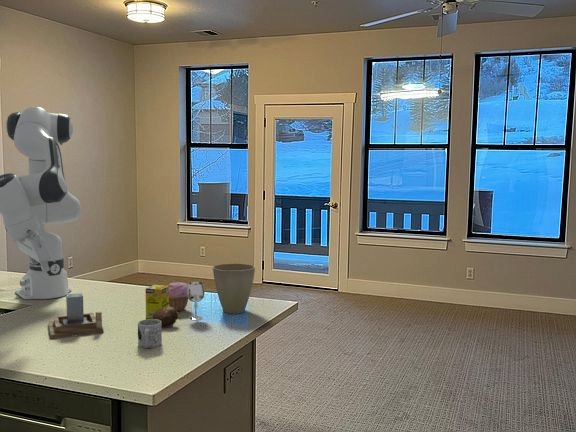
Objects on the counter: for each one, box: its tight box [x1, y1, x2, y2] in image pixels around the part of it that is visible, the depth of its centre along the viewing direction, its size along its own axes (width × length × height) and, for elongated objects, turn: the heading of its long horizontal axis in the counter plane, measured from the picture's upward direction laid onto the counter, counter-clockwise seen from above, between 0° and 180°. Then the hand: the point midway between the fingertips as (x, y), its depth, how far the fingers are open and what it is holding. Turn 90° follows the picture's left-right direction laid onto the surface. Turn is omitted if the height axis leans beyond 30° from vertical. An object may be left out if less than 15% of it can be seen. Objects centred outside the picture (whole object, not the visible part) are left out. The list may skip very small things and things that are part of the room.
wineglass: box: [187, 281, 205, 321], centre depth 190 cm, size 6×6×12 cm
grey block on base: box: [63, 292, 88, 325], centre depth 177 cm, size 7×7×10 cm
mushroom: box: [153, 307, 179, 328], centre depth 182 cm, size 8×8×6 cm
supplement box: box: [145, 284, 169, 320], centre depth 189 cm, size 6×6×11 cm
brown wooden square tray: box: [48, 311, 104, 339], centre depth 177 cm, size 15×15×6 cm
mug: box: [137, 318, 163, 350], centre depth 162 cm, size 10×7×7 cm, turn 4°
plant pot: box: [212, 262, 256, 315], centre depth 200 cm, size 15×15×16 cm
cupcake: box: [167, 281, 189, 312], centre depth 201 cm, size 9×9×10 cm
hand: (41, 267), depth 174 cm, fingers open, 8 cm apart
